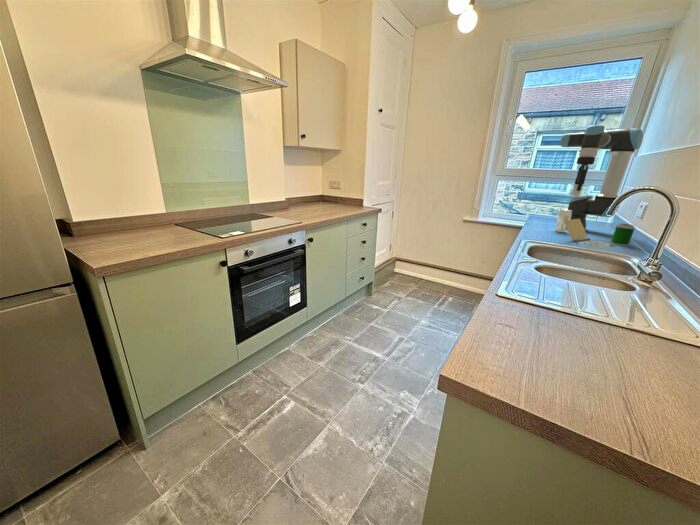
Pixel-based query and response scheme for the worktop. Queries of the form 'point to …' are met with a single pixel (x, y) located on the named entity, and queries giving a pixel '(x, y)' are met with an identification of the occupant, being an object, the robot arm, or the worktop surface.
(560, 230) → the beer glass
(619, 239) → the soda can
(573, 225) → the swing leaf
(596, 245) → the base leaf
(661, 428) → the worktop surface
